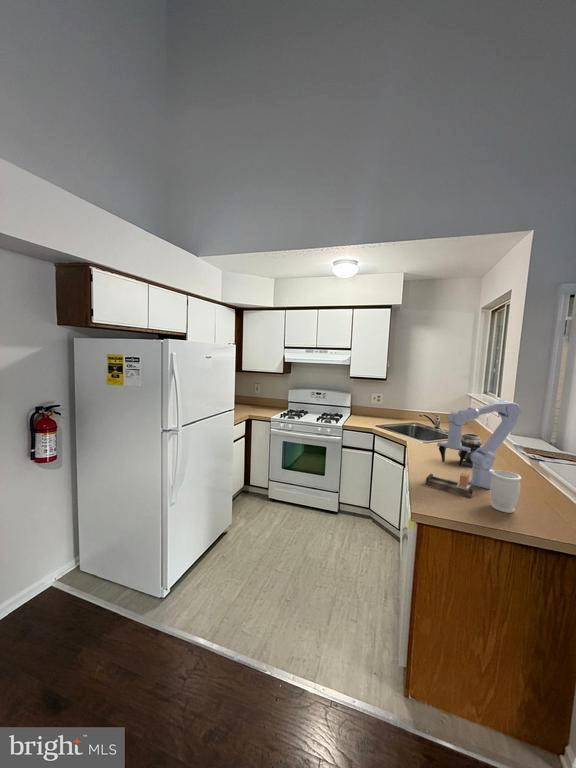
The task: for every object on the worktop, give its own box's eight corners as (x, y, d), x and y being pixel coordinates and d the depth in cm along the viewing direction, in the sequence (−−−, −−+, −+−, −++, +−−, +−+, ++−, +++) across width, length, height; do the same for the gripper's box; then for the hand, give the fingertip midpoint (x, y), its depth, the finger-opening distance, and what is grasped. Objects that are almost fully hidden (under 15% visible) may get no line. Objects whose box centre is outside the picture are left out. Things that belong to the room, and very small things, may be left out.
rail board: (475, 491, 149) (475, 484, 149) (471, 498, 143) (471, 490, 142) (430, 479, 162) (431, 473, 162) (425, 485, 155) (425, 478, 155)
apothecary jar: (481, 463, 189) (483, 434, 187) (480, 469, 178) (483, 438, 177) (458, 459, 195) (460, 431, 193) (456, 465, 185) (459, 435, 183)
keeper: (470, 488, 149) (471, 474, 148) (468, 491, 145) (469, 478, 144) (458, 485, 152) (459, 472, 151) (456, 488, 148) (457, 475, 148)
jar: (518, 517, 127) (522, 481, 125) (488, 509, 132) (491, 475, 130) (516, 506, 136) (520, 472, 134) (488, 500, 141) (491, 467, 139)
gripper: (436, 435, 157) (434, 461, 159) (469, 441, 148) (466, 469, 150) (440, 432, 163) (437, 458, 164) (472, 438, 154) (469, 465, 155)
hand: (451, 463), depth 157 cm, fingers open, 7 cm apart
